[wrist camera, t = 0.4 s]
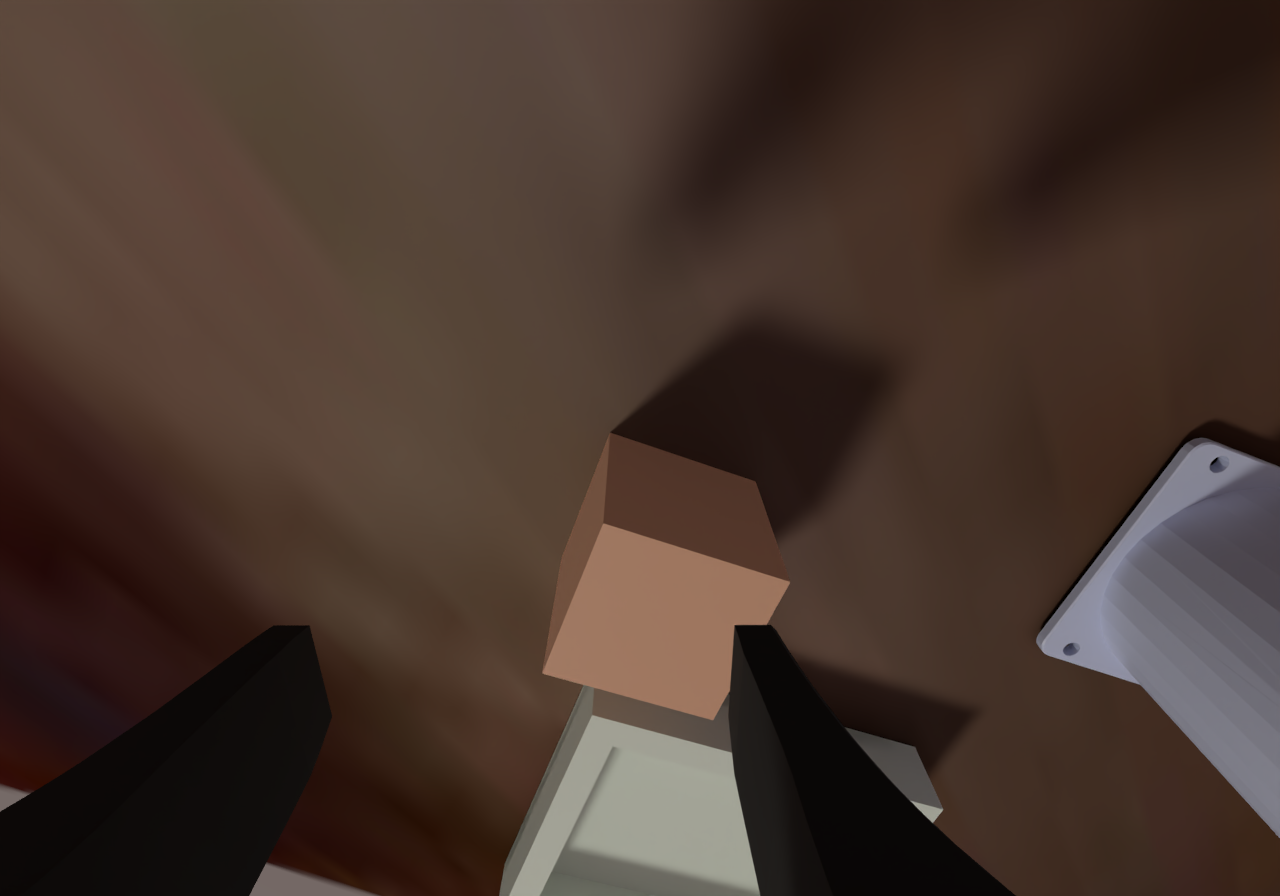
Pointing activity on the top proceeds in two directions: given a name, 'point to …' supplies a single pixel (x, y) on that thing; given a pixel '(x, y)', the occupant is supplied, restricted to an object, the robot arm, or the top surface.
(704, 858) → the tray
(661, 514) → the block
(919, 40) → the top surface
